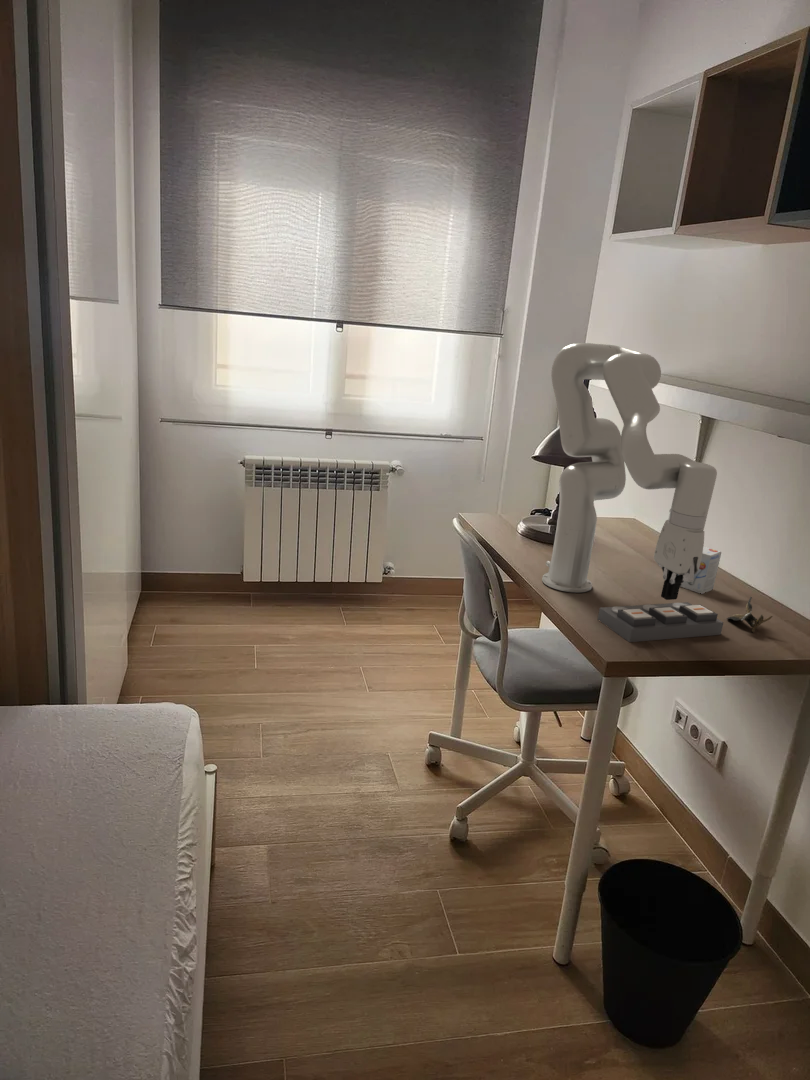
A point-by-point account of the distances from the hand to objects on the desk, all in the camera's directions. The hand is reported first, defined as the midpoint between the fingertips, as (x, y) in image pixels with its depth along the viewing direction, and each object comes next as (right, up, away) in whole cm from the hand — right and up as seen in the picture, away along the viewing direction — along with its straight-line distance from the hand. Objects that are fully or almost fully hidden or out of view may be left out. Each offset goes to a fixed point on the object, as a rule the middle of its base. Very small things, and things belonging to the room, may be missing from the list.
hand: (668, 598), depth 173 cm
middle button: (0, -5, +1) cm, 5 cm away
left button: (-8, -5, -2) cm, 10 cm away
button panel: (-1, -7, +3) cm, 8 cm away
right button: (+8, -4, +4) cm, 10 cm away
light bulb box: (+17, +1, +34) cm, 38 cm away
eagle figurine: (+21, -7, +10) cm, 24 cm away
